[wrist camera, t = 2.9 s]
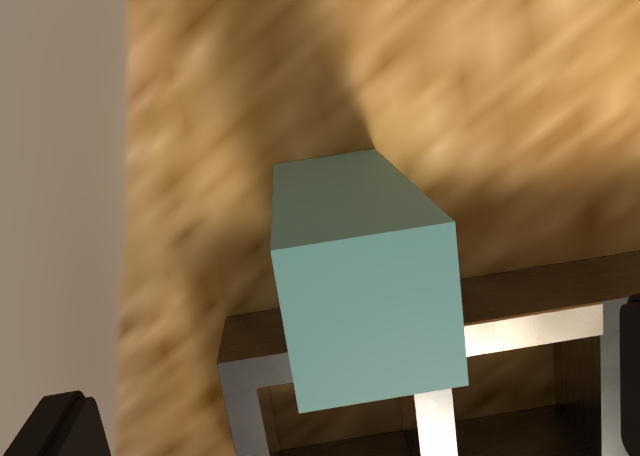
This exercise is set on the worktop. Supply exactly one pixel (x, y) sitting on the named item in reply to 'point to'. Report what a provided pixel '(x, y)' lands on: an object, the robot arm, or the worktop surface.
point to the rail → (480, 338)
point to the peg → (364, 282)
